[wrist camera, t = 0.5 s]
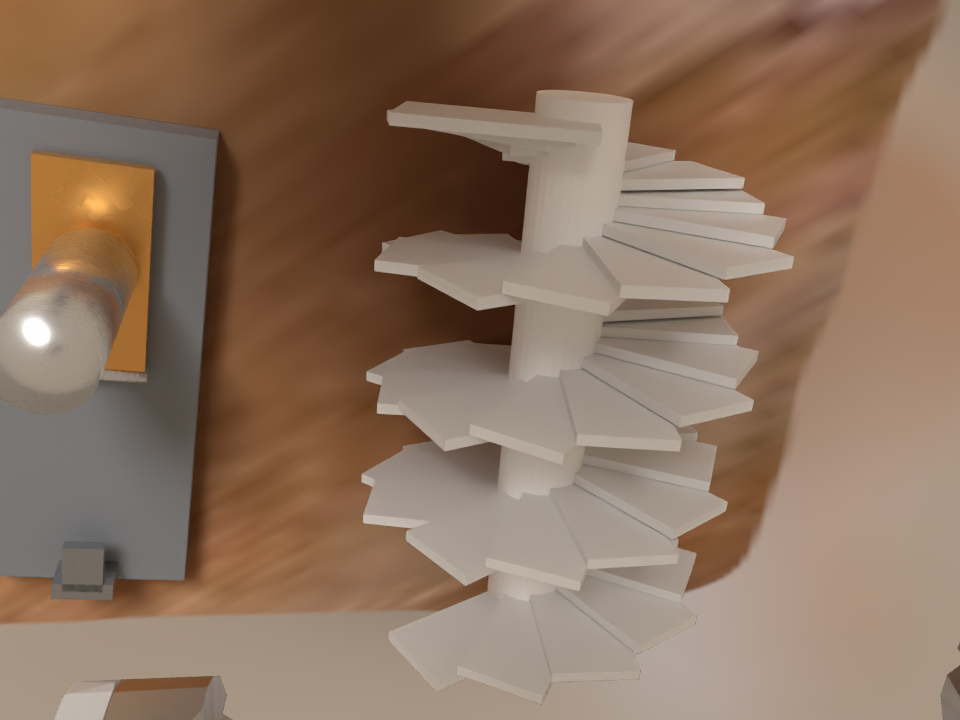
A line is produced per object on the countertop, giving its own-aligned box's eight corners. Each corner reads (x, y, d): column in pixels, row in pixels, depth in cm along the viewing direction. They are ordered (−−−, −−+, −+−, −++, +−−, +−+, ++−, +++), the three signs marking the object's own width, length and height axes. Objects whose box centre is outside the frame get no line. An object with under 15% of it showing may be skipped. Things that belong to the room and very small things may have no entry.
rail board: (-15, 95, 40) (-28, 103, 38) (219, 130, 43) (217, 139, 41) (-2, 552, 50) (-12, 575, 48) (187, 558, 53) (184, 580, 51)
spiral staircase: (594, 73, 49) (546, 474, 59) (299, 68, 39) (298, 556, 48) (912, 128, 36) (783, 633, 46) (595, 141, 26) (514, 791, 35)
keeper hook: (59, 524, 48) (51, 547, 46) (119, 526, 49) (114, 549, 47) (59, 574, 49) (51, 599, 47) (118, 575, 50) (112, 600, 48)
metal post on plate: (32, 148, 39) (-46, 223, 30) (158, 166, 41) (123, 242, 31) (34, 370, 44) (-33, 497, 34) (148, 379, 45) (114, 503, 35)
